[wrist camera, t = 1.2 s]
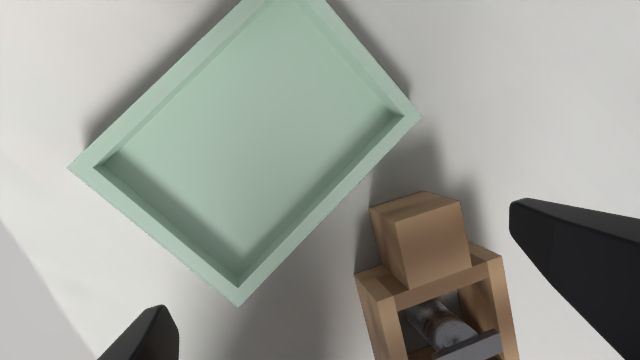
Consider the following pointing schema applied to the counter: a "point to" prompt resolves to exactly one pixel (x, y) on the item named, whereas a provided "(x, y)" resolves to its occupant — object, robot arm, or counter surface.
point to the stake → (452, 333)
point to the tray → (249, 140)
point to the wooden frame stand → (430, 274)
